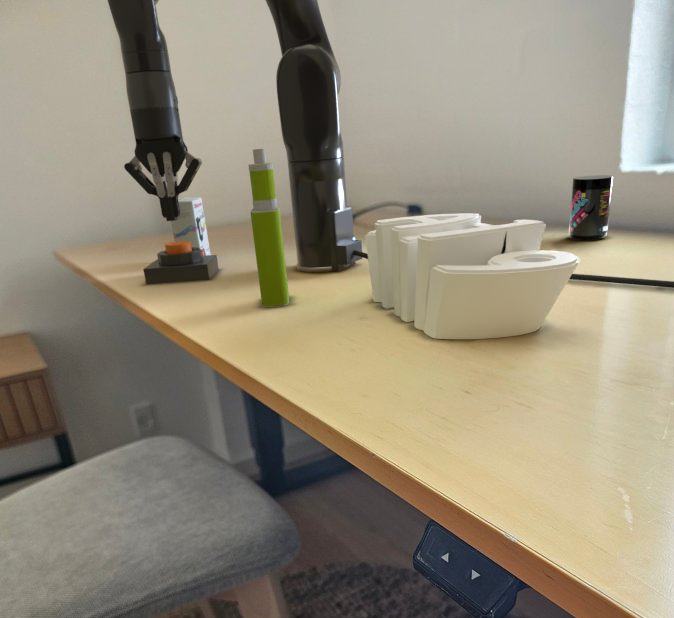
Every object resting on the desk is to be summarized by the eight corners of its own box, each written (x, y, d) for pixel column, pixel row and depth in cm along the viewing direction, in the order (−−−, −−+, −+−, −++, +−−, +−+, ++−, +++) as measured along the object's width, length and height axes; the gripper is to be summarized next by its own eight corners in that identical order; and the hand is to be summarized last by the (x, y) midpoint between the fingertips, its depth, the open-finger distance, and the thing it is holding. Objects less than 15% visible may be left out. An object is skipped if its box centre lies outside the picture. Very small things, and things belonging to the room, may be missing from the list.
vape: (289, 296, 97) (273, 147, 88) (288, 305, 91) (271, 148, 83) (264, 298, 97) (246, 149, 88) (261, 308, 91) (241, 151, 83)
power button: (194, 250, 116) (192, 240, 115) (189, 254, 112) (187, 244, 111) (170, 252, 116) (168, 241, 115) (163, 256, 112) (161, 246, 112)
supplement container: (573, 234, 125) (578, 175, 121) (611, 235, 122) (617, 174, 117) (563, 240, 120) (568, 179, 116) (601, 241, 117) (608, 178, 112)
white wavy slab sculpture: (356, 288, 98) (352, 214, 93) (460, 275, 101) (461, 202, 96) (445, 357, 67) (445, 251, 62) (591, 335, 70) (601, 232, 65)
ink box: (203, 265, 125) (192, 200, 120) (178, 267, 125) (166, 202, 120) (211, 257, 132) (202, 195, 127) (188, 259, 133) (177, 197, 127)
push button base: (218, 269, 120) (215, 244, 118) (209, 280, 112) (205, 253, 110) (159, 274, 120) (154, 249, 118) (146, 284, 112) (140, 258, 110)
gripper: (104, 108, 101) (127, 225, 109) (189, 102, 100) (206, 221, 108) (120, 109, 108) (140, 219, 115) (199, 103, 107) (214, 215, 115)
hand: (172, 220), depth 112 cm, fingers closed
